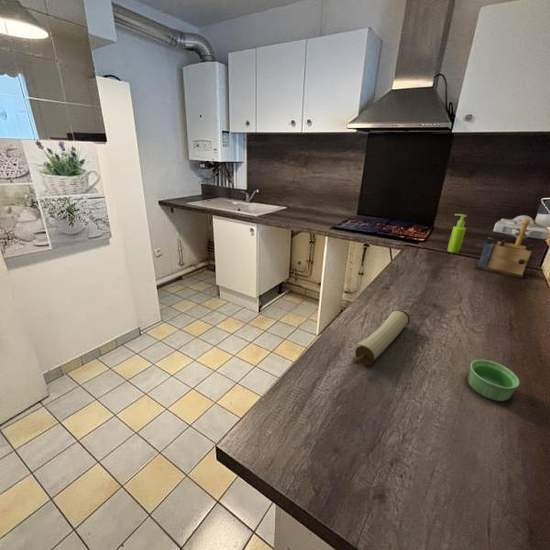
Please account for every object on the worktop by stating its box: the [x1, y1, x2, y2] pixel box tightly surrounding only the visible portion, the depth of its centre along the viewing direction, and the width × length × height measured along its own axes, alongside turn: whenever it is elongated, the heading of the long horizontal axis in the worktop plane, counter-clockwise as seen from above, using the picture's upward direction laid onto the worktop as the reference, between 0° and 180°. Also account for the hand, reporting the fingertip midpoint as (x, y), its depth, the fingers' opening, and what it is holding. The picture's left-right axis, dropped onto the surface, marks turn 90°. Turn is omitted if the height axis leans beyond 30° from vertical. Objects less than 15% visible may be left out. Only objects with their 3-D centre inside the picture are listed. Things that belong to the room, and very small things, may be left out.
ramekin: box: [467, 359, 521, 402], centre depth 65 cm, size 9×9×4 cm
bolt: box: [496, 219, 530, 249], centre depth 125 cm, size 10×3×12 cm, turn 51°
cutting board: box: [475, 236, 534, 280], centre depth 130 cm, size 17×6×14 cm, turn 51°
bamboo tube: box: [353, 310, 411, 366], centre depth 80 cm, size 32×6×5 cm, turn 137°
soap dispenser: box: [446, 213, 468, 254], centre depth 156 cm, size 6×7×20 cm
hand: (521, 234), depth 123 cm, fingers closed on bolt, 2 cm apart
